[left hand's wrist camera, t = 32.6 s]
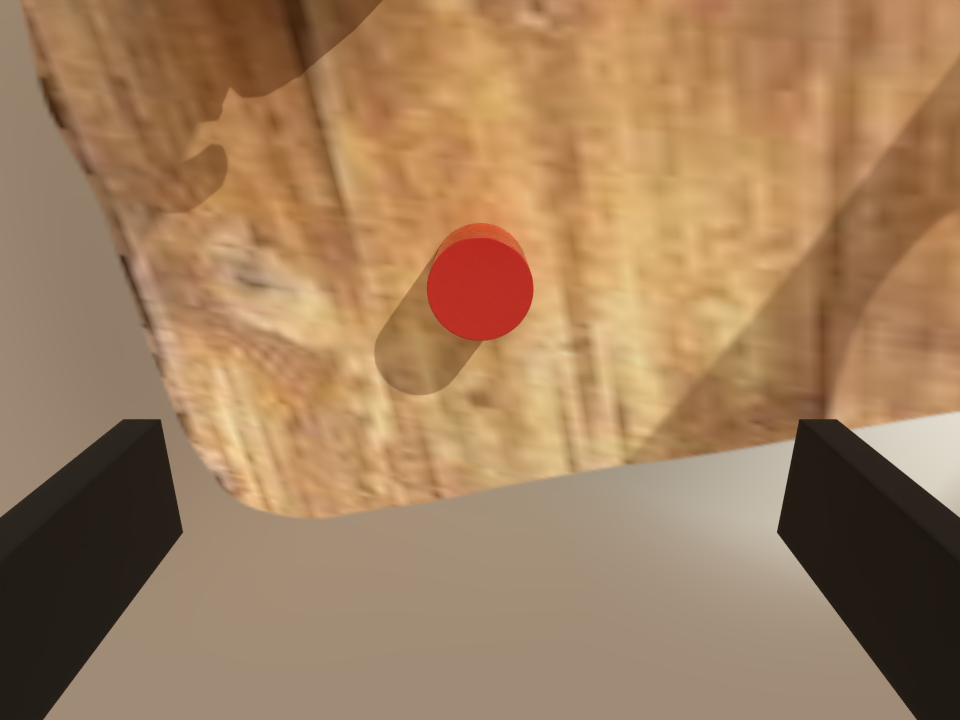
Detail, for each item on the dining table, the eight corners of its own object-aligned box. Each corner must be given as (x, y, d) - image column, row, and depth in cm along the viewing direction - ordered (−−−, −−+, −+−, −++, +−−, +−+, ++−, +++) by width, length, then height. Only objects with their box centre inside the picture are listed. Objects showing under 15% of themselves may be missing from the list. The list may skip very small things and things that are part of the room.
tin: (422, 236, 31) (413, 252, 27) (514, 212, 31) (519, 224, 27) (448, 324, 33) (443, 352, 29) (535, 302, 32) (544, 326, 28)
